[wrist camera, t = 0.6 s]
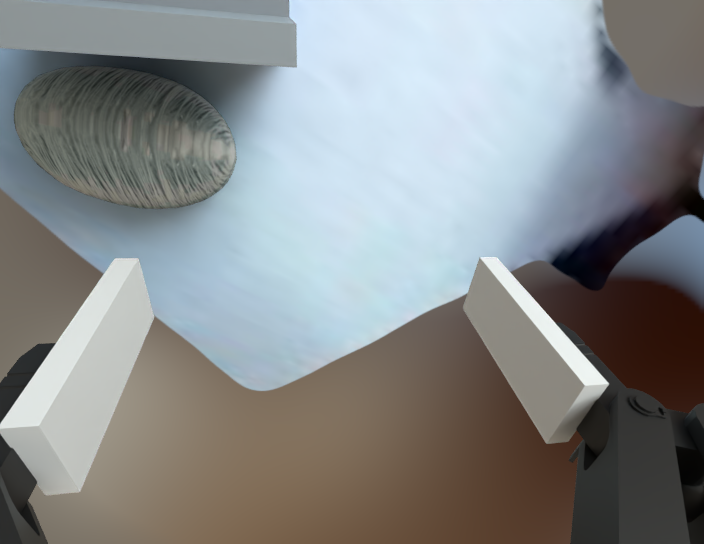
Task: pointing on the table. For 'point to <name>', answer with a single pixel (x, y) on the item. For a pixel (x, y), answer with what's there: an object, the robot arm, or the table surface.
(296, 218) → the table surface
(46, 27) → the grey screen
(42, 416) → the robot arm
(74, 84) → the grey streaked ovoid
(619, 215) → the table surface
